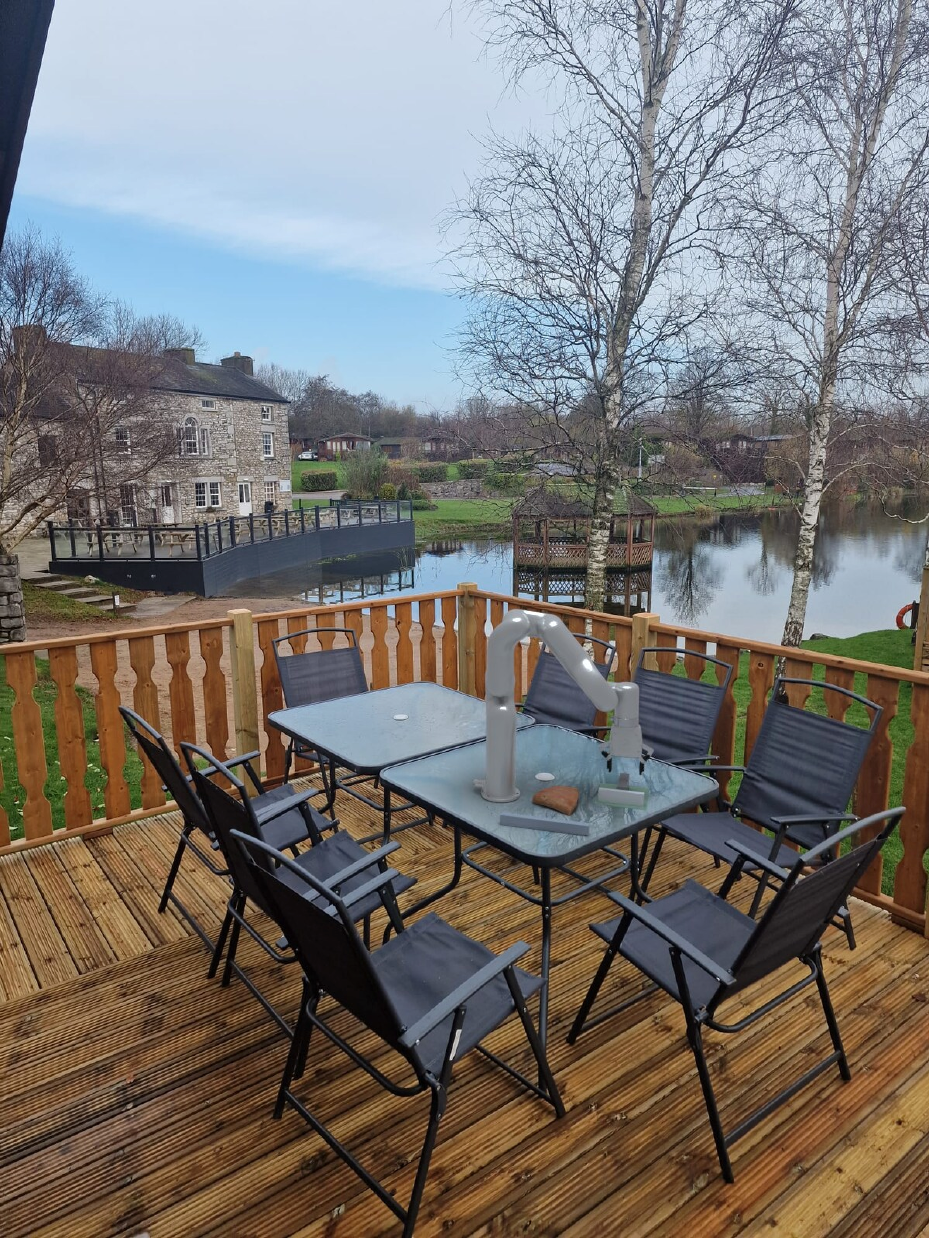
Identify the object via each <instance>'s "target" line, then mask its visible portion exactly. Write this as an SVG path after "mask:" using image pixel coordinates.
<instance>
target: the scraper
mask: <svg viewBox="0 0 929 1238" xmlns="http://www.w3.org/2000/svg"><path fill="white" fill-rule="evenodd" d="M629 786H630V773H624V772H620V773H619V776H618V780H617V789H609V788H600V787H598V790H599V794H598V801H601V802H610V803H618V804H627V805H635V806H643V807H644V792H635V791H628V790H629Z"/></svg>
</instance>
